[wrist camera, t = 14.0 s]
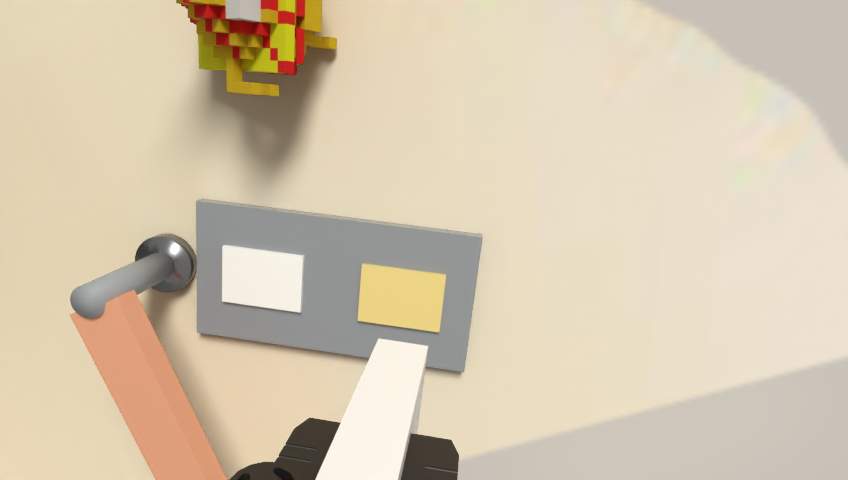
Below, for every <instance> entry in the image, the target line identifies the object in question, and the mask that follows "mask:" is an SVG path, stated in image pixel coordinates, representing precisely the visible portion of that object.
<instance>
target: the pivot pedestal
mask: <svg viewBox="0 0 848 480" xmlns="http://www.w3.org/2000/svg"><path fill="white" fill-rule="evenodd" d="M154 253H163V254H165V255H167V256H168V257H169V258H170V259H171V260H172V263H173V266H174V270H173V273H172V275H171V276H170V277H169V278H167V279H165V280H163V281H161V282H160V283H158V284H156V285H154V286H152V287H151V288H153V289H155V290H157V291H161V292H173V291H176V290H178V289H180V288H182V287H183V286H185V285H187V284H188V283H189V282H190V281H191V280H192V279H193V278H194V276H195V274H196V271H197V259H196V255H195V253H194V251H193V249H192V248H191V246H190V245H189V244H188V243H187V242H186V241H185V240H184V239H182V238H180V237H178V236H176V235H173V234H160V235H157V236H155V237H152V238H150V239H147V240H146V241H144V242H143V243H142V244H141V245H140V246H139V248H138V250H137V252H136V256H135V262H136V261H138V260H140V259H142V258H145V257H147V256H149V255H151V254H154Z"/></svg>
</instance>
